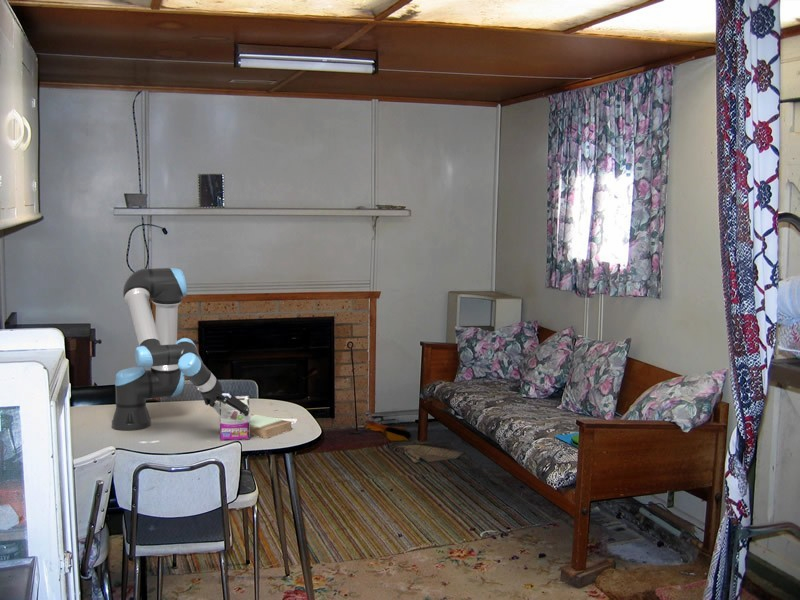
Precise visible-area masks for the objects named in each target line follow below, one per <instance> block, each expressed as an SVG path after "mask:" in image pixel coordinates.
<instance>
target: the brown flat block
mask: <svg viewBox="0 0 800 600" xmlns="http://www.w3.org/2000/svg"><path fill="white" fill-rule="evenodd" d="M250 414H251V415H252V416H253V415H254V414H252V413H250ZM281 420H282V421H280V422H277V423H274V424H271V425H268V426H264V427H261V428H259V427H254V426H250V436H251V435H254V436H253V437H256V436H259V437H258V438H261V437H263V438H262V439H266V438H267V439H270V438H273V437H275V435H276V436H278V434H279V435H281V433H282V434H284V433H283V432H285V433H287V432H286V431H288V432H290V431H289V430H291V431H292V421H289V420H283V419H281ZM272 436H273V437H272ZM269 437H270V438H269Z"/></svg>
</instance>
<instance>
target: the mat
mask: <svg viewBox="0 0 800 600" xmlns="http://www.w3.org/2000/svg"><path fill="white" fill-rule="evenodd" d="M282 420H283V419H280V418H276V417H271V416H270V417H269V416H265V415H259V414H253V416H252V418H251V420H250V426H254V427H259V428H261V427H264V426H268V425H271V424H274V423H277V422H280V421H282Z"/></svg>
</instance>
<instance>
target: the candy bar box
mask: <svg viewBox="0 0 800 600" xmlns="http://www.w3.org/2000/svg"><path fill="white" fill-rule="evenodd" d="M234 396H235V395H234ZM235 397H236V398H238V399H239V400H240V401H242V402H243V403H244V404H246V405H247V406H248V408H247V411H248V412H249V413H250V395H236V396H235ZM224 401H226V398H225V400H224ZM219 404H220V415H219V431H220V432H219V433H220V434H219V439H220V441H243V440H242V439H249V440H250V438H249V437H251V435H250V421H249V422H247V421H246V420H245V419H244V418H243V416H242V415H241V414H240V413H239V412H240V411H238V410H236V409H235V408H233V407H231V406H230V405H228V404H224V403H222V402H220V401H219Z"/></svg>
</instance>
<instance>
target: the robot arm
mask: <svg viewBox="0 0 800 600" xmlns="http://www.w3.org/2000/svg"><path fill="white" fill-rule="evenodd" d="M122 294H123V295H122V296H123V301H124V302H125V304H126V305H128V308H129V312H130V317H131V320H132V324H133V328H134V331H135V335H136V338H137V343H138V346H137V347H136V348H135V351H134V357H135V358H134V359H135V363H136V365H137V366H132V367H129V368H128V367H127V368H124V369H121V370H119V371H118V372H117V373H116V374H115V379H114V380H115V381H114V386H115V409H114V410H115V411H114V414H113V418H112V420H111V428H112V429H114V430H117V431H118V430H119V431H135V430H143V429H146V428H149V427H150V426H152V425H151V424H152V422H151V421H152V420H151V417H150V414H149V410H148V408H147V400H151V399H152V400H153V399H162V398H172V397H178V396H180V395H181V393H182V392H183V390H184V387H185V381H186V379H185V377H186V378H187V379H188V380H189V381H190V382H191V383H192V384H193V386H194V387H195V388H197V389H196V390H197V391H200V394H201V395H202V398H203V402H204V405H206V406H210V407H211V408H213V410H214V411H215V412H216V413H217V414H218V415H219V416H220V402H222V403H224V404H228V405H230V406H231V407H233V408H235V409H236V410H238V411H240V412H239V413H240V414H241V415H242V416H243V418H244V419H245V420H246V421H247V422H249V421H250V420H251V418H252V415H251V414H252V413H250V411H249V412H248V411H247V408H248V406H247V405H246V404H244V403H243V402H242V401H240V400H239V399H238V398H236V397H235V395H233V394H232V392H230V391H228V392H227V393H226V392H225V391H224V390H223V386H222V383H221V382H220V380H218V379H217V378H216V376H215V375H214V374H213V373H212V372H211V370H209V368H208V367H207V366H206V365H205V364H204V362H203V360H202V358H201V356H200V354H199V351H198V348H197V346H196V344H195V342H194V341H193V340H192V339H191V338H187V337H183V338H181V339H178V319H179V316H178V313H179V309H178V308H179V305H180V304H182V301H183V298H185V297H186V296H187V294H188V285H187V280H186V277H185V273H184V272H183V270H182V269H180V268H174V267H173V268H172V267H163V268H162V267H159V268H156V267H155V268H140V269H138V270H136V271H134V272H132V273H131V275H130V276H128V277H127V279H126V281H125V283H124V286H123V290H122ZM150 299H151V302H152V304H154V306H155V317H154V315H153V313H152V312H153V311H152V308H151V304H150V301H149V300H150ZM154 318H155V319H154ZM147 368H150V369H148V370H147ZM225 398H226V401H224V400H225Z"/></svg>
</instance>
